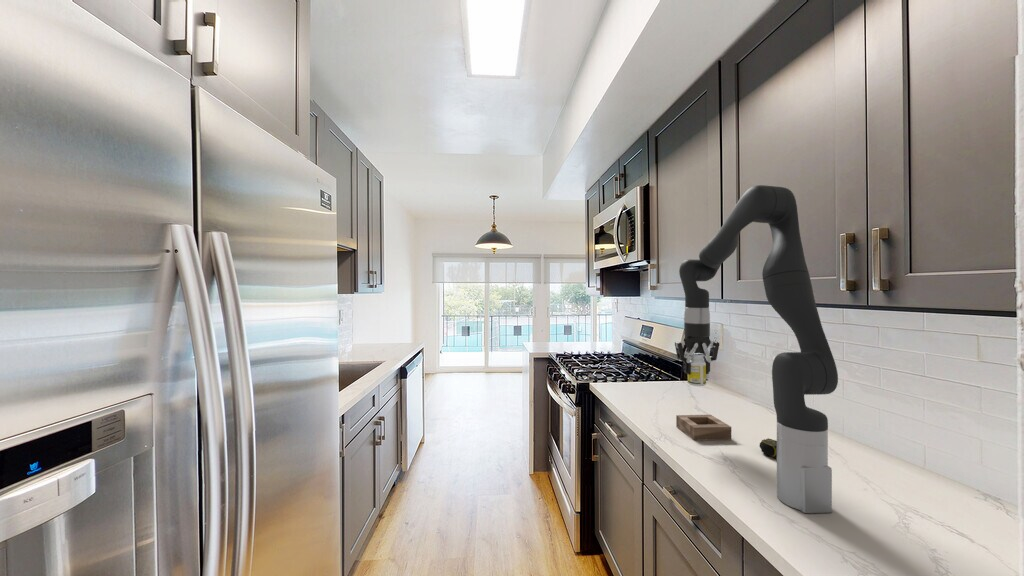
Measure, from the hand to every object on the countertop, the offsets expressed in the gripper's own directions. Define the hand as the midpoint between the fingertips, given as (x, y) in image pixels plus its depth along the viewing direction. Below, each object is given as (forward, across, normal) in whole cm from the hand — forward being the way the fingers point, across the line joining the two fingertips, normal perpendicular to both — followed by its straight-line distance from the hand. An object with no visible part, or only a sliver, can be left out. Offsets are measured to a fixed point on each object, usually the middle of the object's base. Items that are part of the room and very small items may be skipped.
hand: (696, 373), depth 129 cm
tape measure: (+20, +14, -16) cm, 29 cm away
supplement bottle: (+4, 0, 0) cm, 4 cm away
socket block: (+20, +3, +2) cm, 20 cm away
